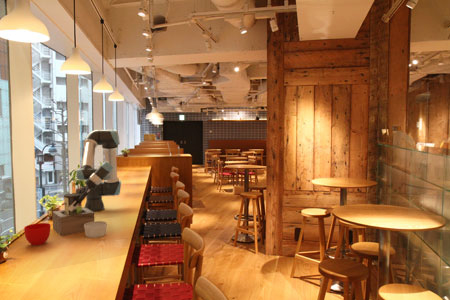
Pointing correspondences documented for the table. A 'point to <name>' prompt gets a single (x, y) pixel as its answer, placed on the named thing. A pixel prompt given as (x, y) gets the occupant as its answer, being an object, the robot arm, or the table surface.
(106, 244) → the table surface
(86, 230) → the ramekin
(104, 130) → the robot arm
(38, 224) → the ceramic cup
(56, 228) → the brown square bin
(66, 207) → the coffee can
